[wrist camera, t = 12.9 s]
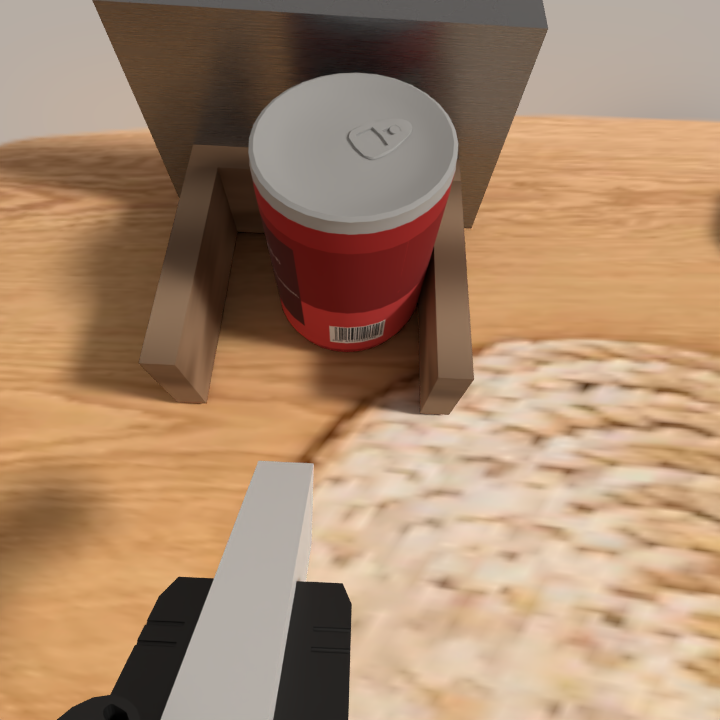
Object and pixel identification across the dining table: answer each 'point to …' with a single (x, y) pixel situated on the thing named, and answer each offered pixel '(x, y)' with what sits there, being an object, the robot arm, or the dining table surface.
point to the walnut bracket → (212, 269)
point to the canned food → (351, 202)
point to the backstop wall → (323, 65)
